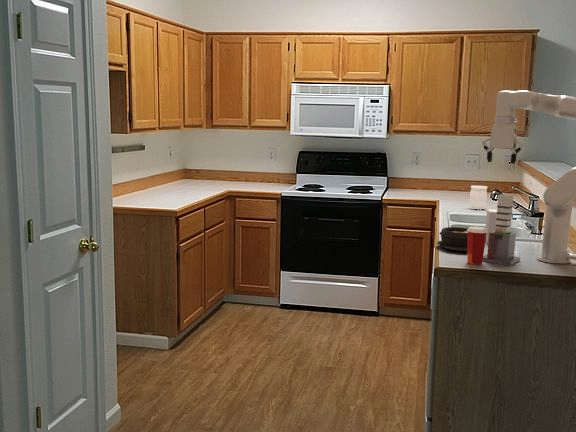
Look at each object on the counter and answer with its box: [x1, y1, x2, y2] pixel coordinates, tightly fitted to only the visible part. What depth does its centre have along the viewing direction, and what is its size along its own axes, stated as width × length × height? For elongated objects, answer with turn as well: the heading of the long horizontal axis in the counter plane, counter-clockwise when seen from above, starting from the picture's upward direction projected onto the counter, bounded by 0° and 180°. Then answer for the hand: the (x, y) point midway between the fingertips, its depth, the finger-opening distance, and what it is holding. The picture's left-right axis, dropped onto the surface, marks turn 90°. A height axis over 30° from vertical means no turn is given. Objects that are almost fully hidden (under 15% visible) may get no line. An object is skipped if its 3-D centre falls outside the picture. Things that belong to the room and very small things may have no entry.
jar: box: [469, 184, 488, 211], centre depth 403 cm, size 11×10×15 cm
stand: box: [482, 231, 521, 267], centre depth 251 cm, size 12×12×12 cm
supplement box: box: [485, 209, 497, 245], centre depth 290 cm, size 9×9×15 cm
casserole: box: [436, 226, 469, 252], centre depth 273 cm, size 25×19×8 cm
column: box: [495, 193, 514, 235], centre depth 249 cm, size 4×4×18 cm
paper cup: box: [466, 226, 487, 266], centre depth 245 cm, size 8×8×14 cm
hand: (501, 162), depth 263 cm, fingers open, 9 cm apart
